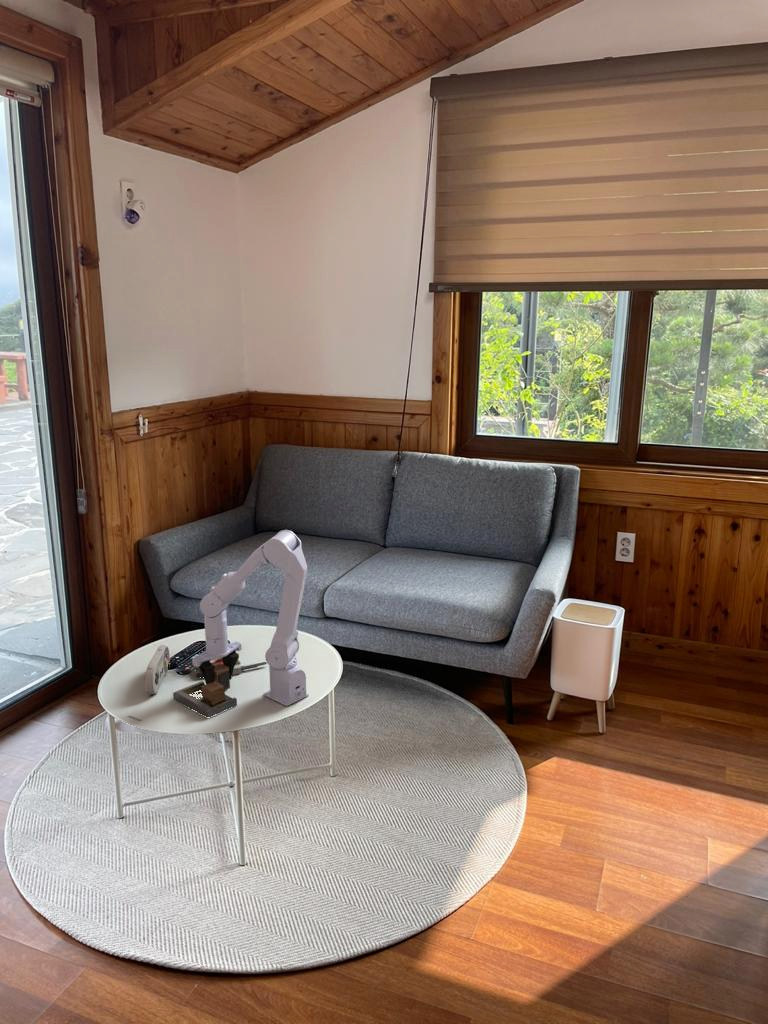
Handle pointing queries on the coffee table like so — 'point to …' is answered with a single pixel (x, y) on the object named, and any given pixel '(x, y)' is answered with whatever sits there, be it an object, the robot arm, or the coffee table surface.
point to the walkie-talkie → (236, 668)
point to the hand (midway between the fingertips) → (219, 682)
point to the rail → (205, 698)
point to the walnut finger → (222, 675)
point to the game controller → (157, 669)
